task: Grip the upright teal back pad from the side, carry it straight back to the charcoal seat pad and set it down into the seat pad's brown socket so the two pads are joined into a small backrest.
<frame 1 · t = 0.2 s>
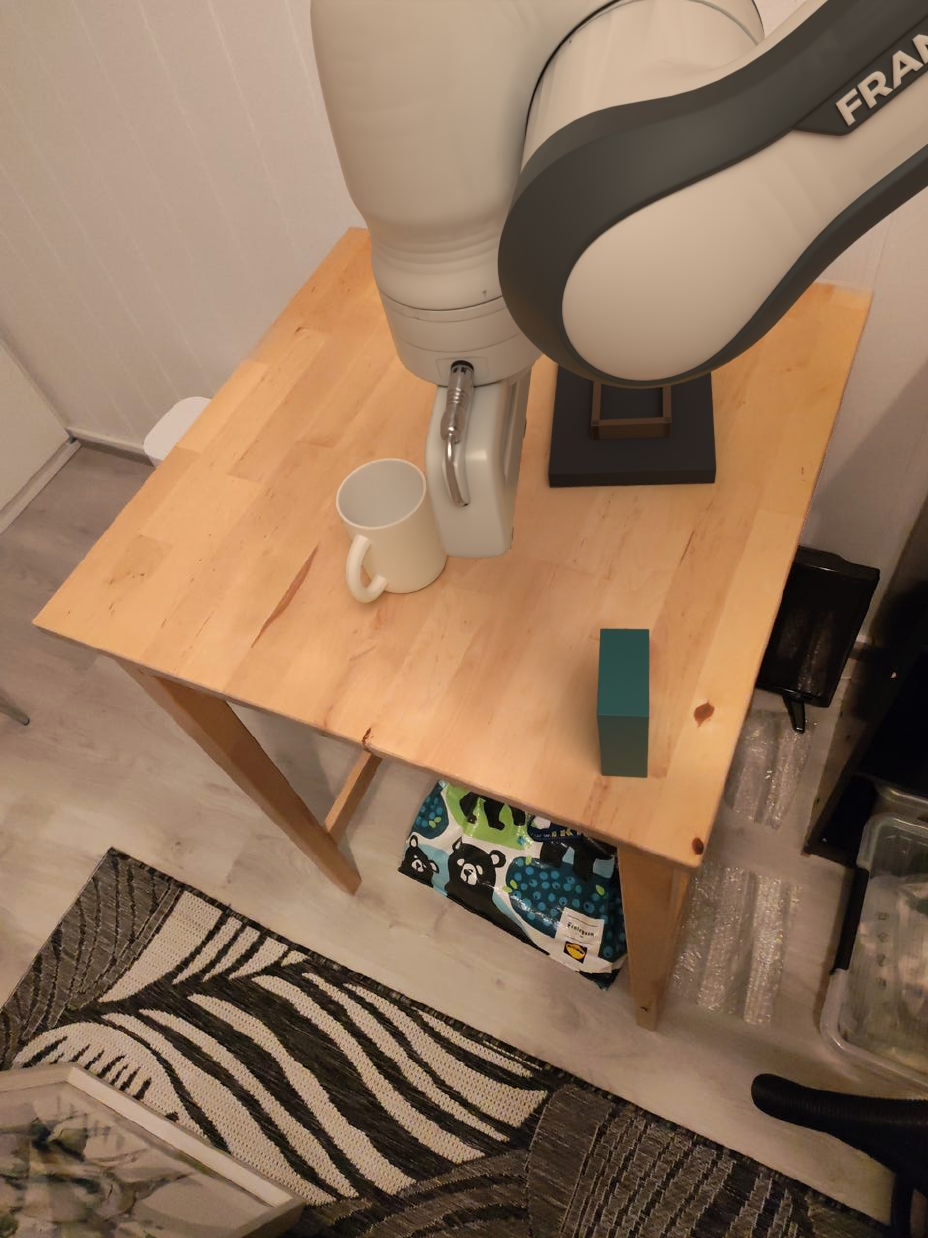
hand: (507, 485, 53), 22 cm above the table, tool pointing down, fingers open, 8 cm apart
mug: (399, 577, 79), on the table
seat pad: (631, 413, 85), on the table
back pad: (625, 736, 66), on the table
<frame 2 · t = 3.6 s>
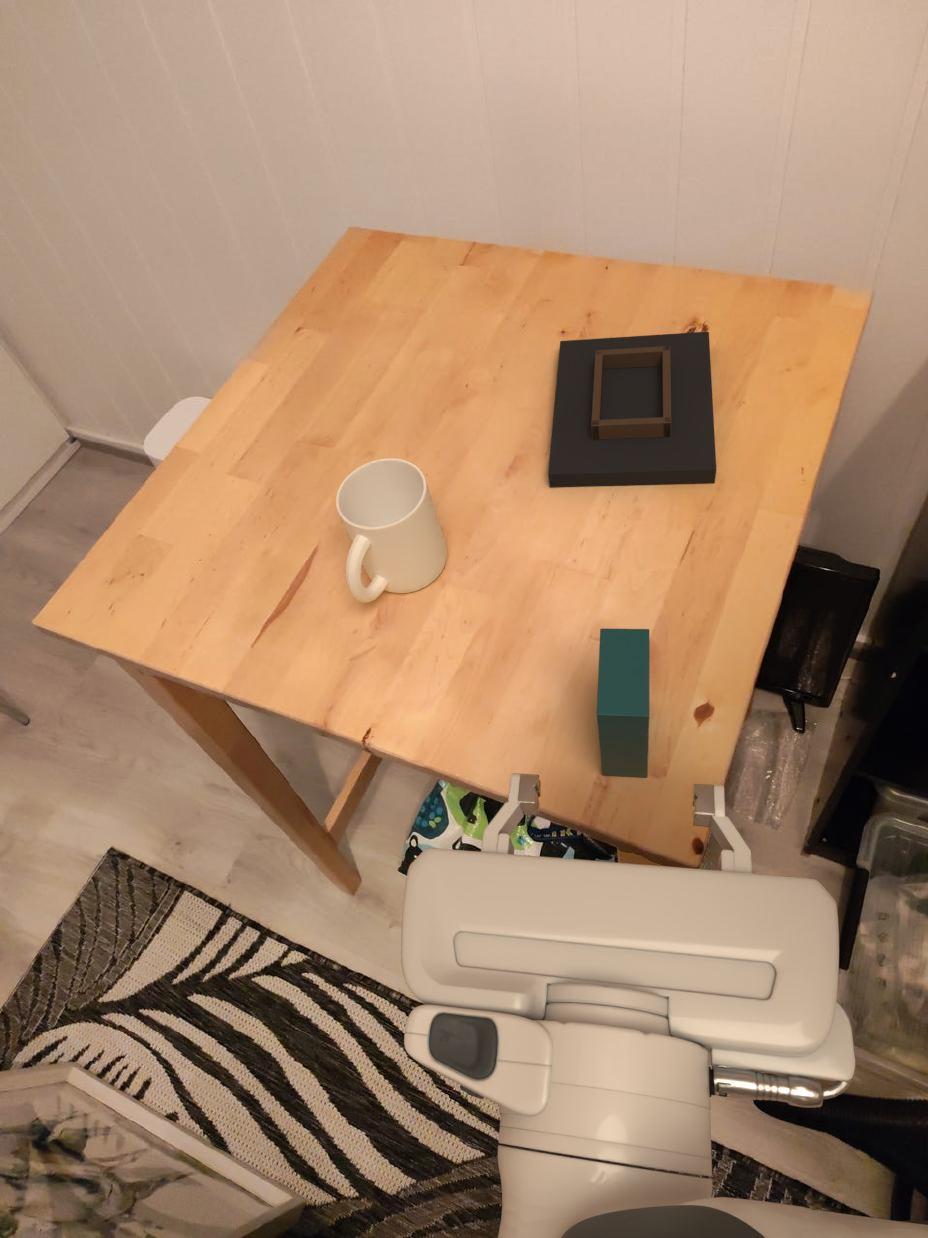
hand: (615, 782, 43), 20 cm above the table, tool horizontal, fingers open, 8 cm apart
nothing on the table moved.
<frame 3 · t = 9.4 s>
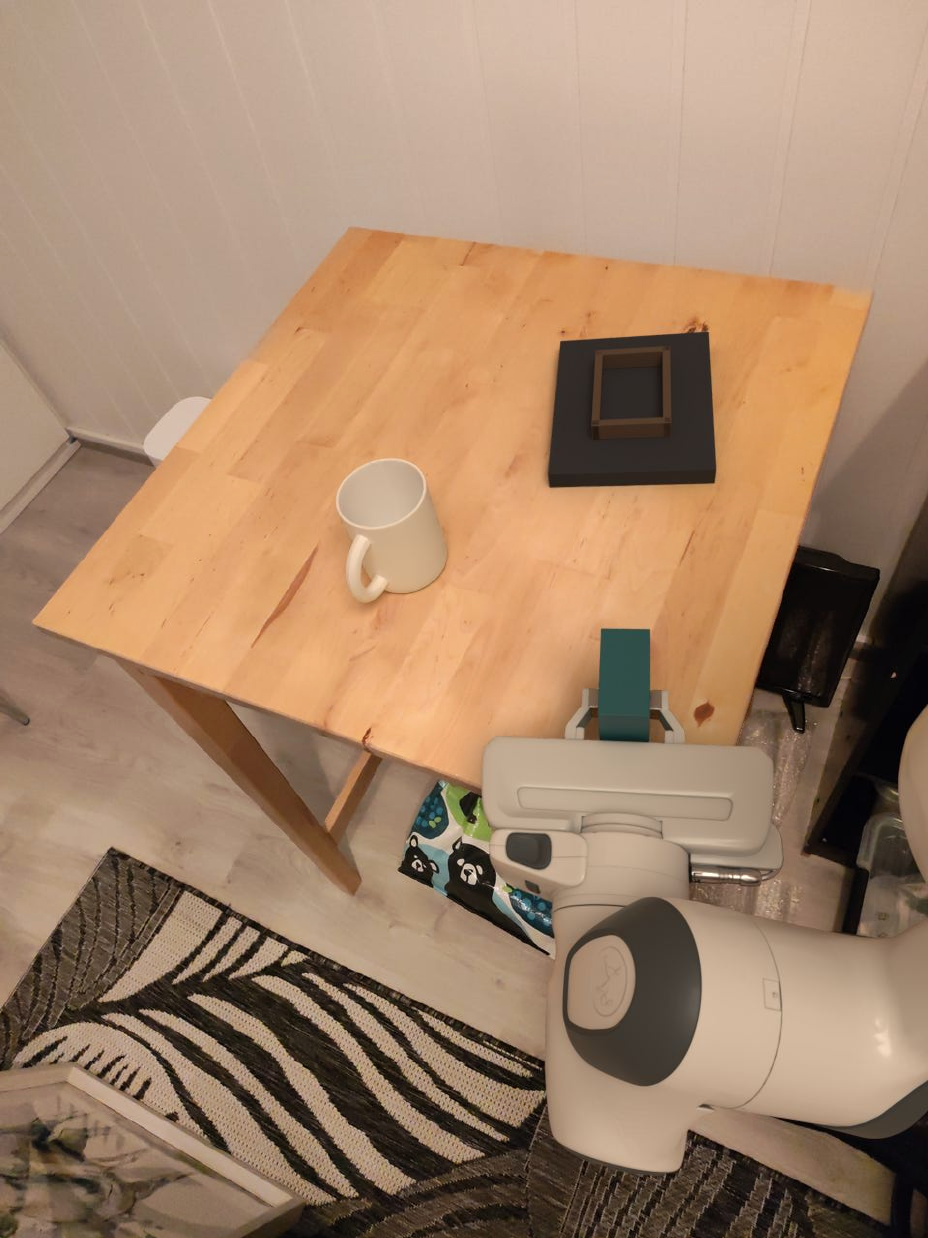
hand: (624, 692, 61), 6 cm above the table, tool horizontal, fingers closed on back pad, 3 cm apart
back pad: (625, 736, 66), on the table, touching gripper
everything else where it was.
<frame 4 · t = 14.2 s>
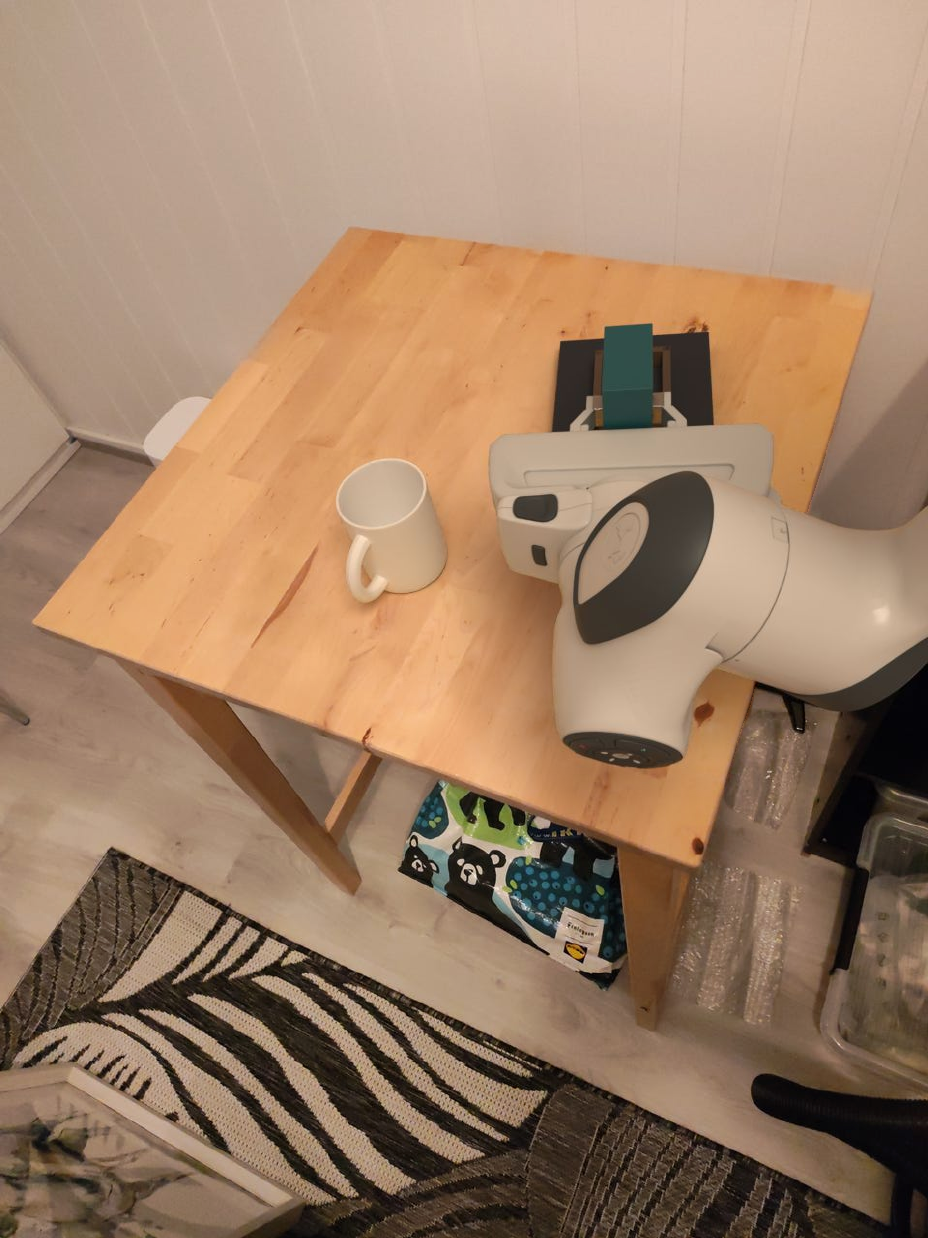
hand: (627, 400, 62), 17 cm above the table, tool horizontal, fingers closed on back pad, 3 cm apart
back pad: (628, 462, 67), point 11 cm above the table, touching gripper
everything else where it was.
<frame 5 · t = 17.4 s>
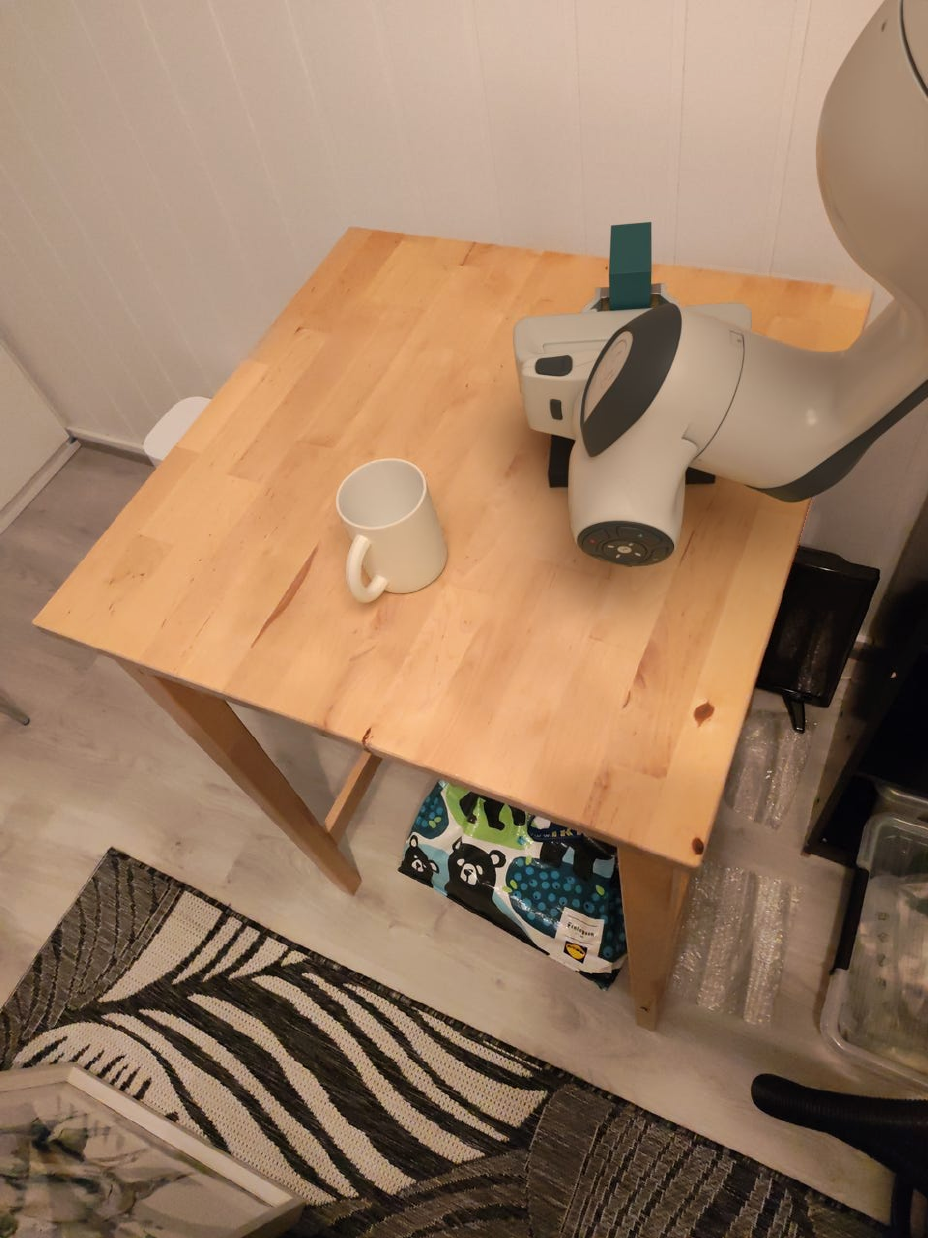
hand: (630, 291, 74), 14 cm above the table, tool horizontal, fingers closed on back pad, 3 cm apart
back pad: (630, 351, 78), point 8 cm above the table, touching gripper
everything else where it was.
when the fingers open (8 cm above the table, at t = 19.5 s): back pad stays where it is, resting on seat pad.
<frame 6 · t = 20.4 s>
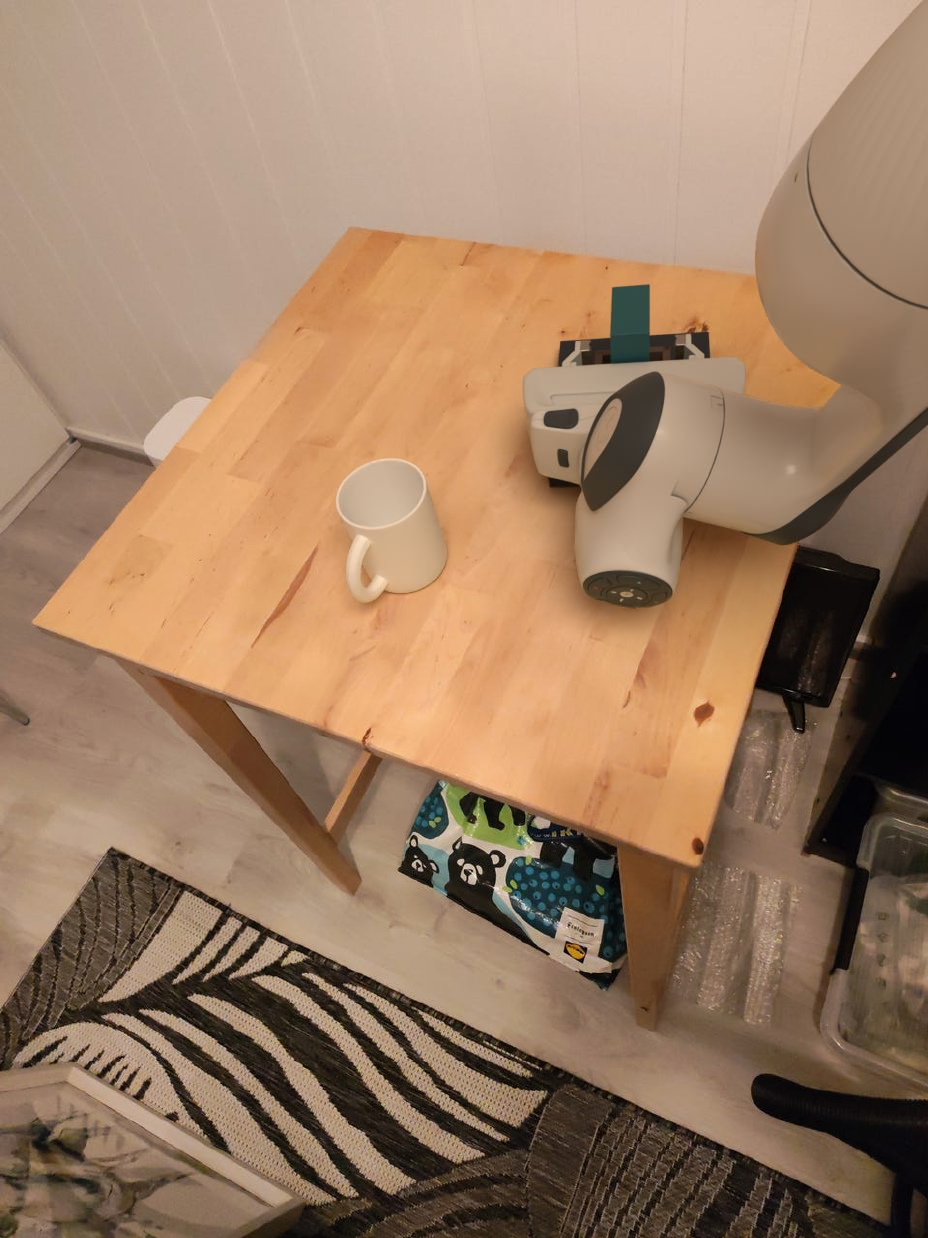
hand: (632, 342, 78), 8 cm above the table, tool horizontal, fingers open, 8 cm apart
back pad: (630, 399, 83), point 2 cm above the table, touching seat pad
everything else where it was.
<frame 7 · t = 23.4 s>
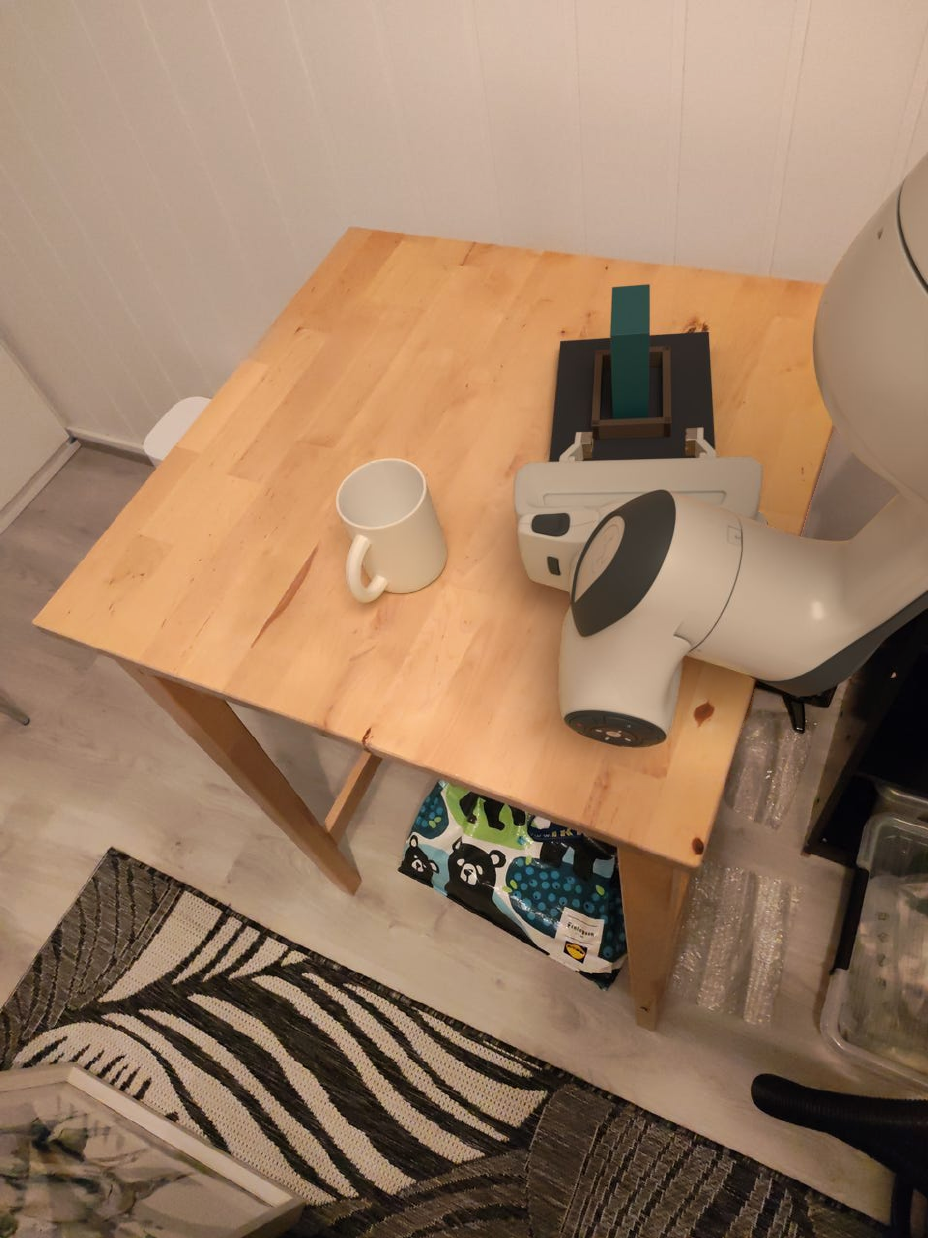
hand: (639, 435, 71), 9 cm above the table, tool horizontal, fingers open, 8 cm apart
nothing on the table moved.
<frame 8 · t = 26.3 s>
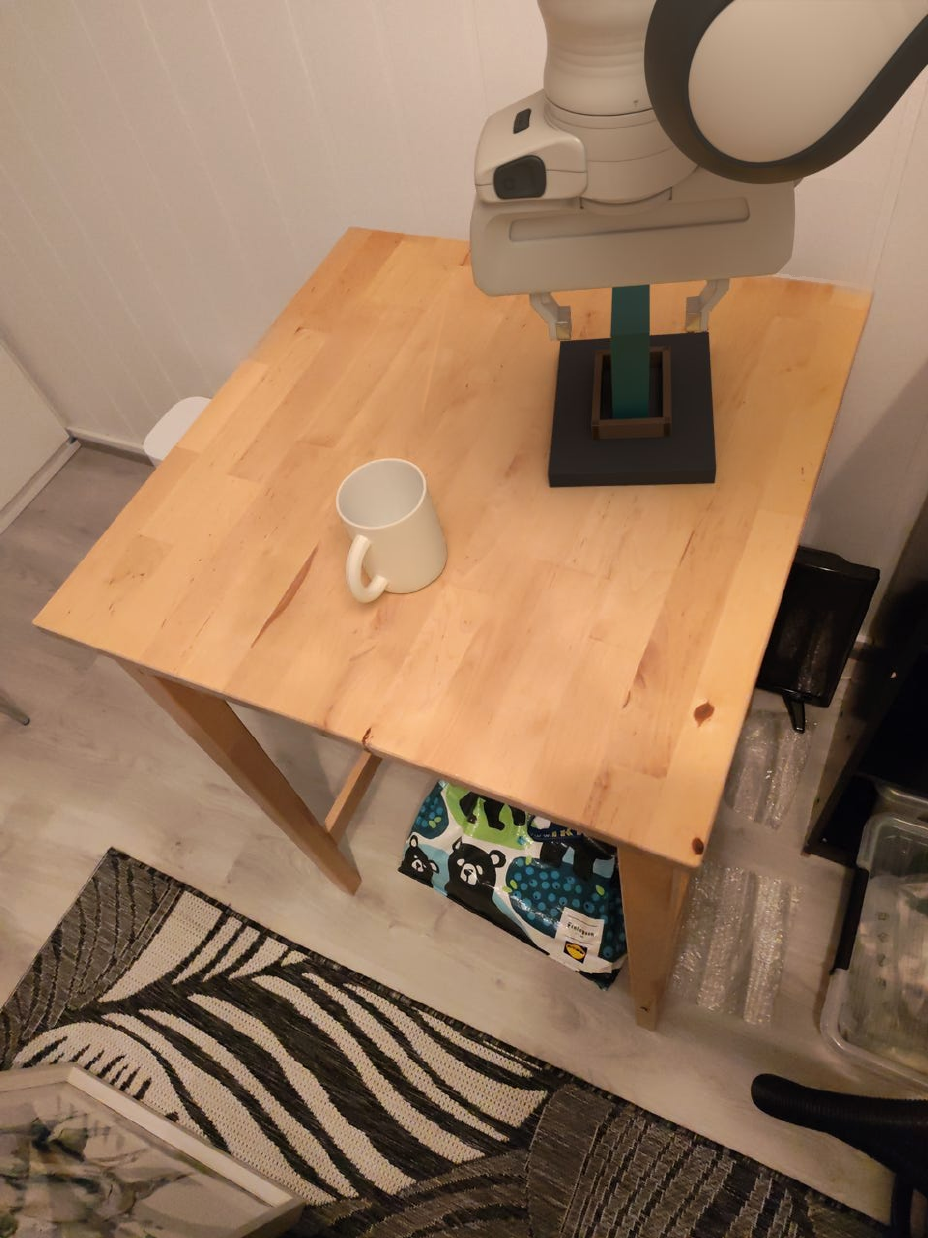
hand: (627, 330, 58), 23 cm above the table, tool pointing down, fingers open, 8 cm apart
nothing on the table moved.
at the end: back pad 0.1 cm off-centre on the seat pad, point 2.0 cm above the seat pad's base; back pad tilted 0°; the gripper is holding nothing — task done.
